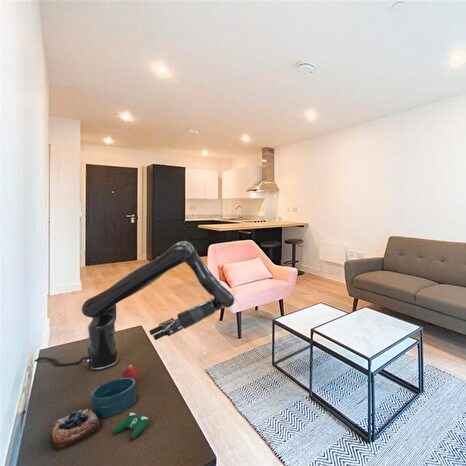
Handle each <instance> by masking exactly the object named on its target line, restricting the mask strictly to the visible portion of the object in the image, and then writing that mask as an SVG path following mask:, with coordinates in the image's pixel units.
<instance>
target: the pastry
mask: <svg viewBox="0 0 466 466" xmlns="http://www.w3.org/2000/svg"><path fill="white" fill-rule="evenodd" d="M99 430H100V420H99V417H97V416H96V414H95V413H94V412H93V409H92V408H86V409H78V410H73V411H72V412H71V413H70V414H69V415H66V416H65V417H61V418H58V419H57V420H55V421H53V427H52V430H51V440H52V445H53V447H54V449H56V450H61V449H65V448H69V447H71V446H74V445H76V444H79V443H81V442H83V441H84V440H86V439H88V438H90V437H92V436H93V435H95V434H96V433H98V432H99Z"/></svg>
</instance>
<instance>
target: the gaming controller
mask: <svg viewBox="0 0 466 466" xmlns="http://www.w3.org/2000/svg"><path fill="white" fill-rule="evenodd" d="M148 422H149V417H147V416H144V415H141V414H138V413H135V412H129V414H128V415H127V416H126V417H125V418H124V419H123V420H121V422H119V424H117V425H116V427H115V428H114V433H116V434H118V433H120V432H122V431H123V430H125V429H127V428H129V429H131V430H132V432H131V435H130V439H133V440H134V439H136V438H137V437H138V436H139V435H140V434H141V433H142V432H143V430H144V429H145V428H146V426H147V425H148Z"/></svg>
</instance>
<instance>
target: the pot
mask: <svg viewBox="0 0 466 466" xmlns="http://www.w3.org/2000/svg"><path fill="white" fill-rule="evenodd" d="M136 383H137V382H136V381H135V379H132V378H122V377H119V378H116V379H113V380H109V381H106V382H105V383H102V384H100V385H98V386H97V387H96V388H95V389H94V390H93V391H92V392H91V409H92V411H93V412H94V413H95V414H96V416H97V417H98V419H99V418H103V419H104V418H110V417H113V416H116V415H119V414H121V413H123V412H125V411H127V410H129V409H130V408H131V407H133V406H134V404H136V402H137V385H136Z"/></svg>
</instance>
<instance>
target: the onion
mask: <svg viewBox="0 0 466 466" xmlns="http://www.w3.org/2000/svg"><path fill="white" fill-rule="evenodd" d="M139 377H140V370H139V369H138V368H137V367H135V366H133V364H130V365H129V366H128V367H127V368H126V369H124V371H123V372H122V375H121V378H132V379H135V382H136V381H137V380H138V379H139Z"/></svg>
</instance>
